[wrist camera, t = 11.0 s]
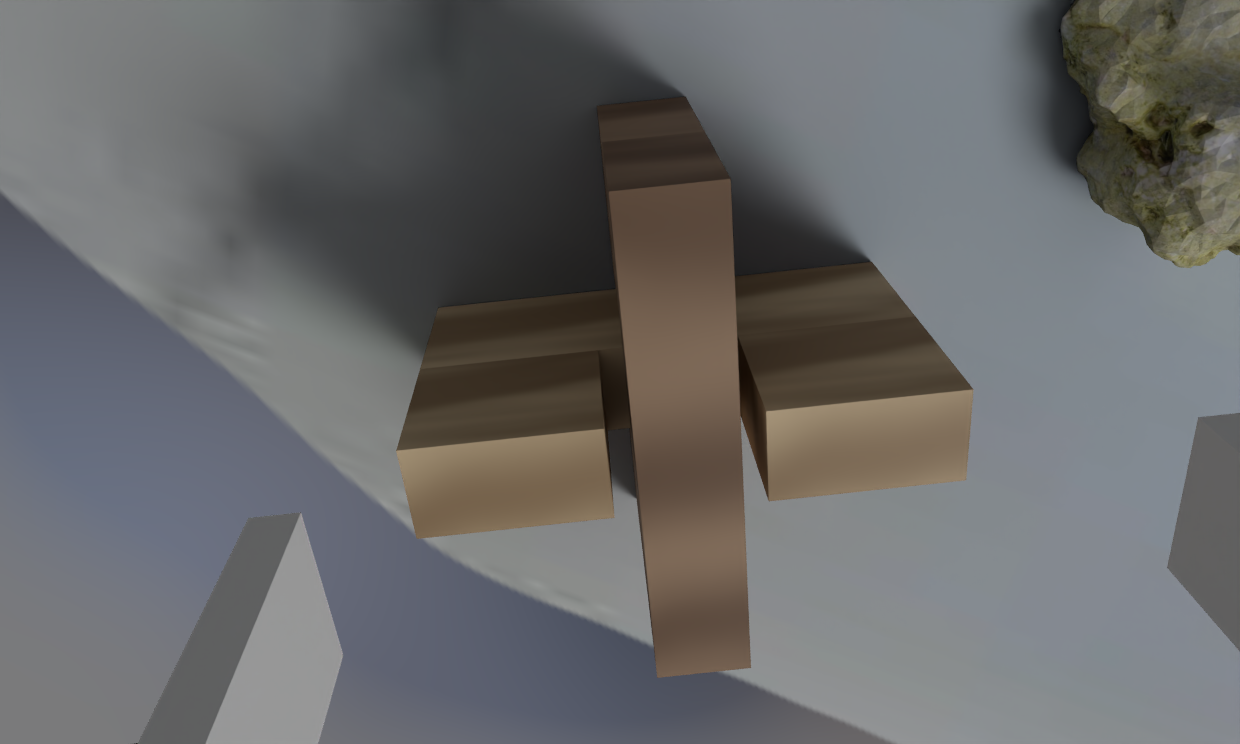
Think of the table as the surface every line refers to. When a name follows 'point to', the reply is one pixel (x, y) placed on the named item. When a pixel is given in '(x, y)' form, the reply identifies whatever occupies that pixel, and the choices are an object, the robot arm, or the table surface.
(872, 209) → the table surface
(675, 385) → the walnut plate
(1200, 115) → the rock
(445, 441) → the oak board
